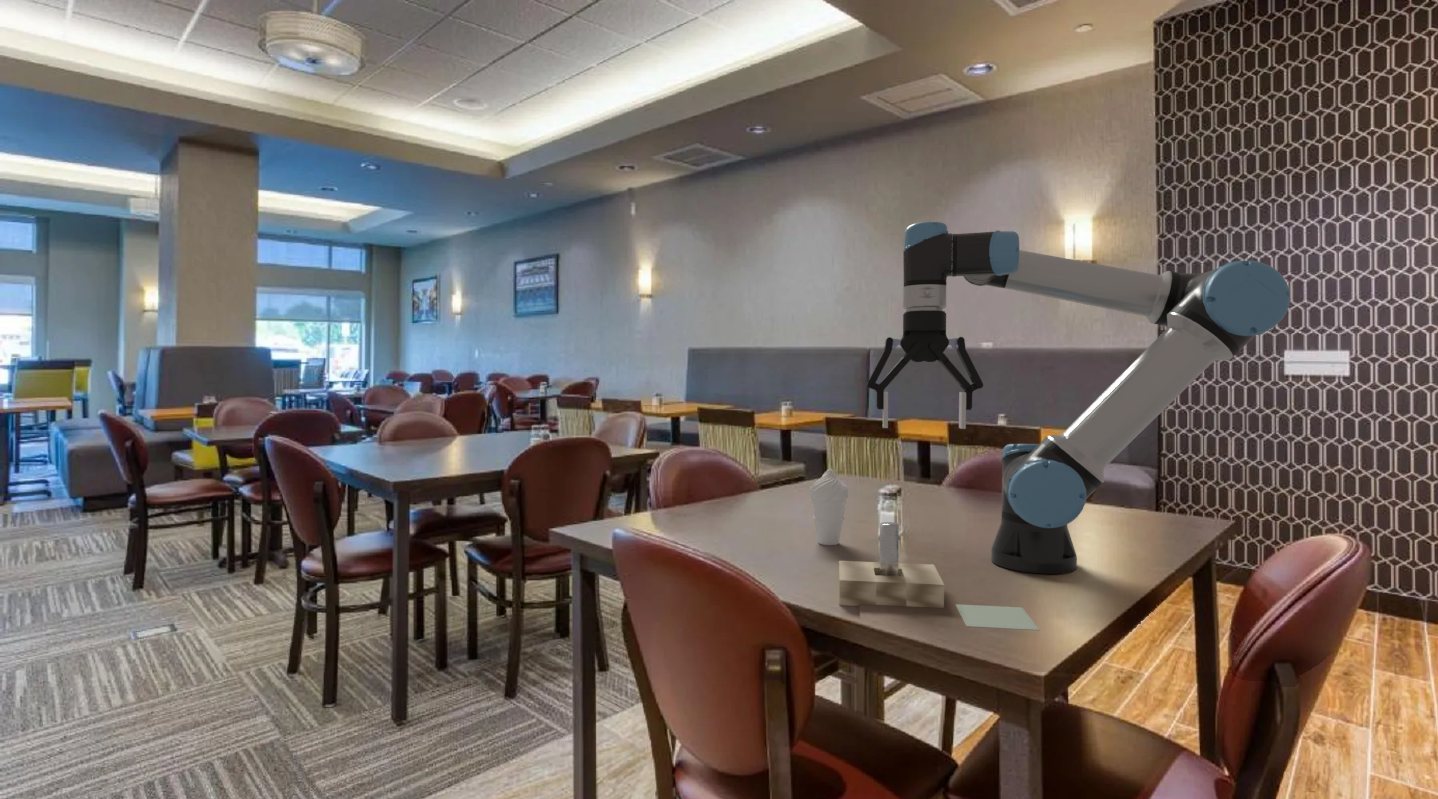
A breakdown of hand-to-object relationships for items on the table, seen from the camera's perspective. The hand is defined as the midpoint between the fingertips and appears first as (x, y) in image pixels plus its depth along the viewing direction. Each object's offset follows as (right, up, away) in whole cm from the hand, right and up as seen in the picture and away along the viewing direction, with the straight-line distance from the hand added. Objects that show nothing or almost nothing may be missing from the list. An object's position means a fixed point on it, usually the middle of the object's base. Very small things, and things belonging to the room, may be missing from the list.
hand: (923, 428), depth 134 cm
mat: (+4, -28, -24) cm, 37 cm away
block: (-9, -27, -13) cm, 31 cm away
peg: (-9, -27, -13) cm, 31 cm away
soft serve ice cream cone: (-14, -26, +25) cm, 38 cm away
